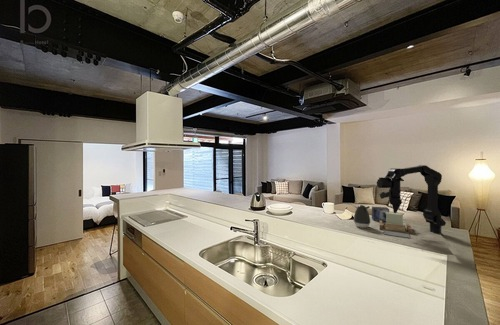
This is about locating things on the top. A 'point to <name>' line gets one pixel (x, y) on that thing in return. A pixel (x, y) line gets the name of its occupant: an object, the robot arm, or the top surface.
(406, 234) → the grey mat
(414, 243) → the top surface
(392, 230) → the walnut rack
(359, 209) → the dark grey egg figure
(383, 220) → the small box
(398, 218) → the pale green block
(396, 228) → the offcut bundle
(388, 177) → the robot arm
